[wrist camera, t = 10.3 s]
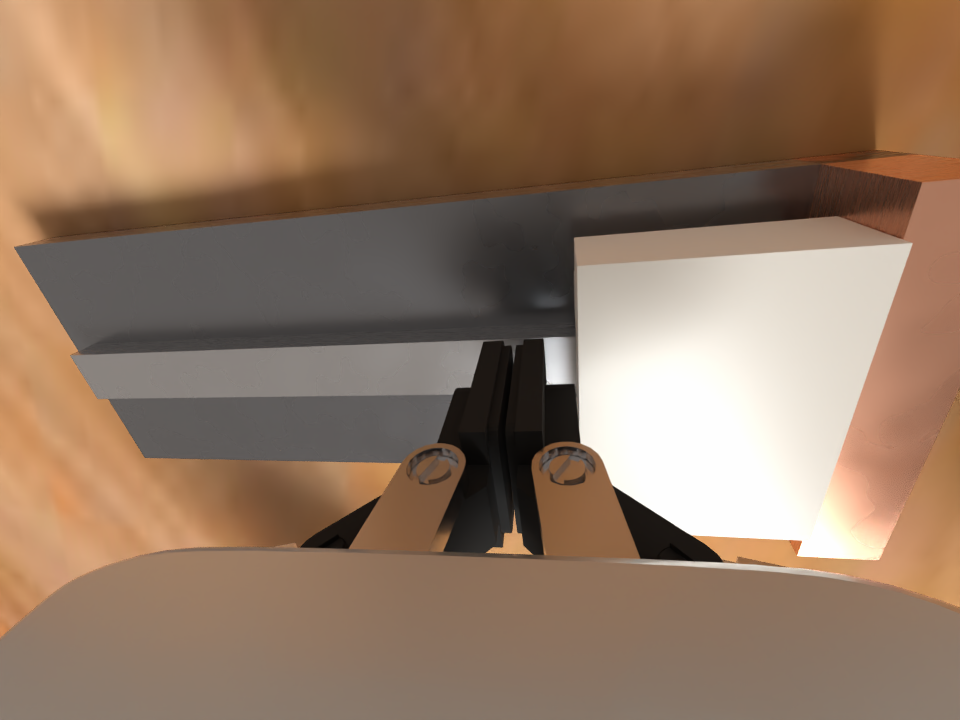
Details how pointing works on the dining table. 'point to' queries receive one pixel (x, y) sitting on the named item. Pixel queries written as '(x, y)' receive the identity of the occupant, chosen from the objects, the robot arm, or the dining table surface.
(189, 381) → the rail
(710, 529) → the slider
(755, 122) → the dining table surface
